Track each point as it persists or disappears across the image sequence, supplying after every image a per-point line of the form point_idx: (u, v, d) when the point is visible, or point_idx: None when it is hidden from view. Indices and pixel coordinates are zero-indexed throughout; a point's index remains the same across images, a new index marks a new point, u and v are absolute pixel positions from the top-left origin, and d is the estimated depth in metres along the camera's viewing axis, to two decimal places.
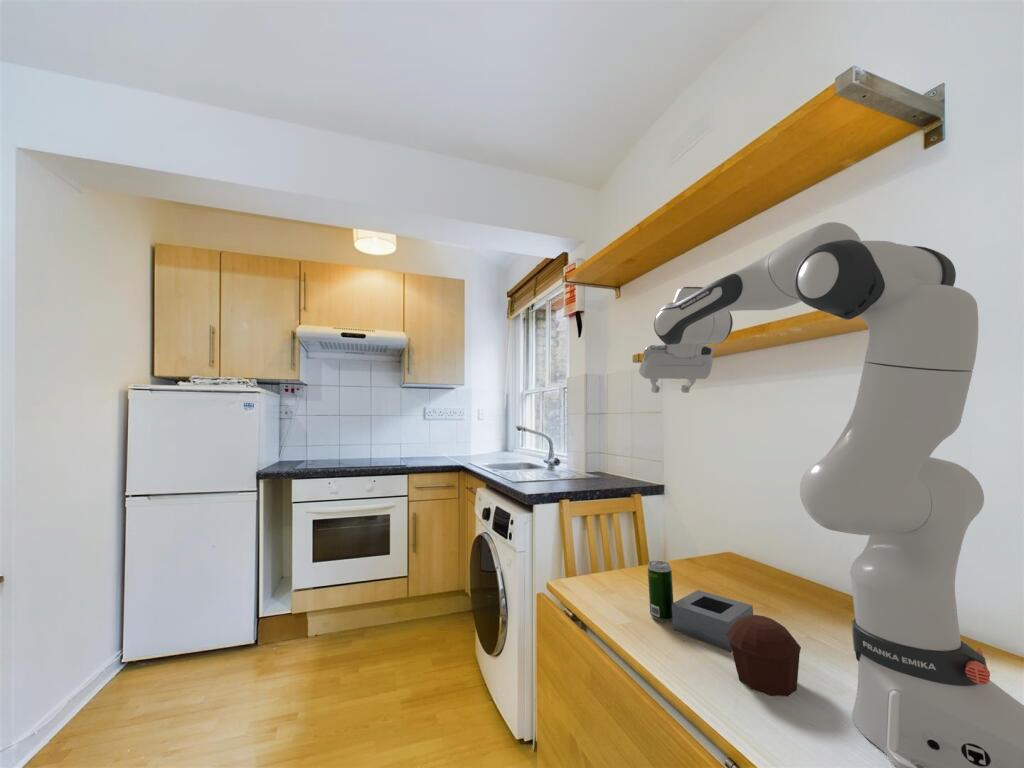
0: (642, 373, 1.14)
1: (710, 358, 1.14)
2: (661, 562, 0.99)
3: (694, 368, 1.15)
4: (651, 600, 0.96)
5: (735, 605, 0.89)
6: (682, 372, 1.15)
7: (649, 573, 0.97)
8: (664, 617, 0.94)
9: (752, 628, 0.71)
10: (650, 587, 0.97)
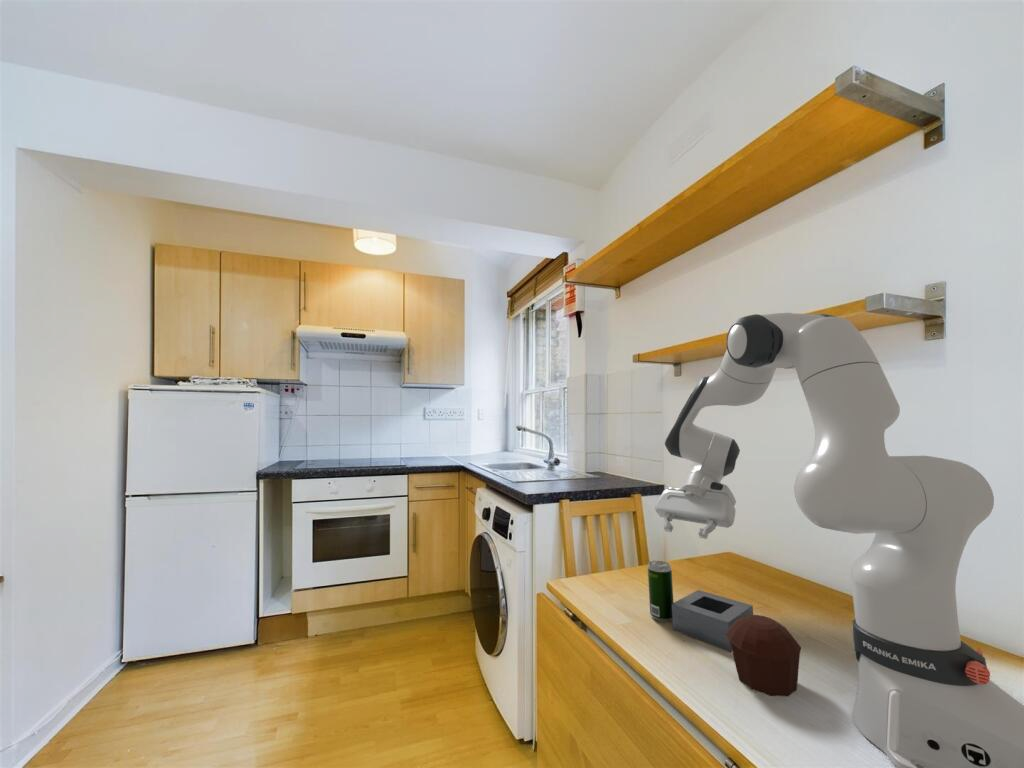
0: None
1: (724, 496, 1.05)
2: (661, 562, 0.99)
3: (708, 506, 1.06)
4: (651, 600, 0.96)
5: (735, 605, 0.89)
6: (693, 508, 1.08)
7: (649, 573, 0.97)
8: (664, 617, 0.94)
9: (753, 628, 0.71)
10: (650, 587, 0.97)
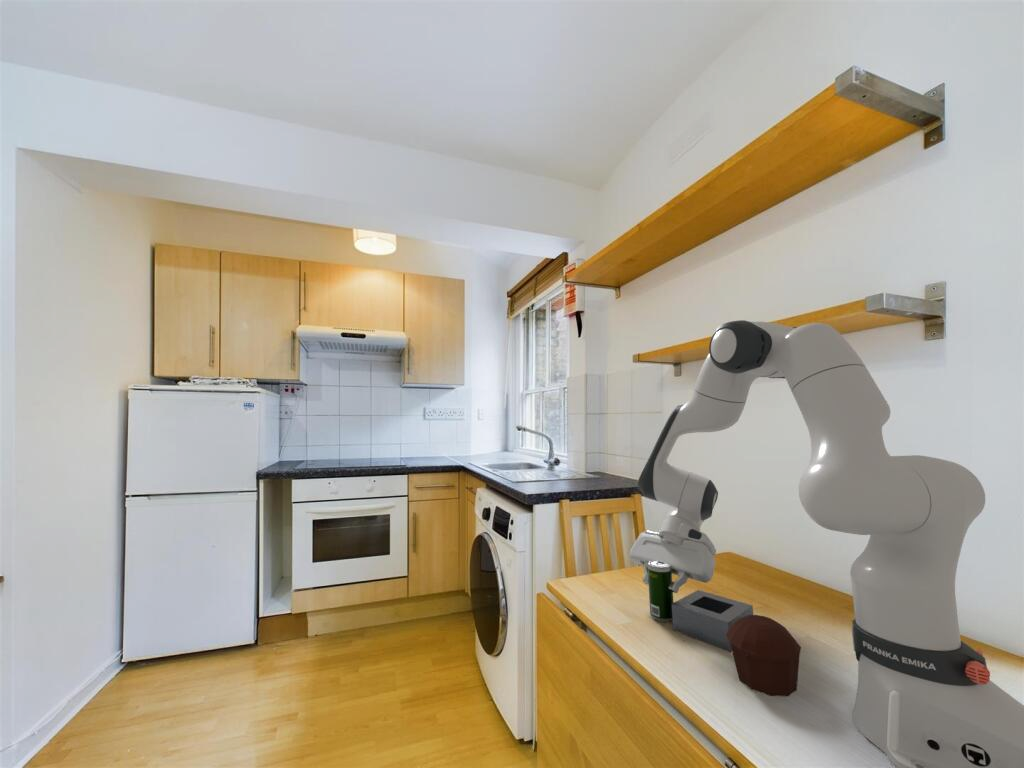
0: None
1: (703, 546, 0.95)
2: (661, 562, 0.99)
3: (685, 557, 0.97)
4: (651, 600, 0.96)
5: (735, 605, 0.89)
6: (670, 558, 0.99)
7: (649, 573, 0.97)
8: (664, 617, 0.94)
9: (752, 628, 0.71)
10: (650, 587, 0.97)
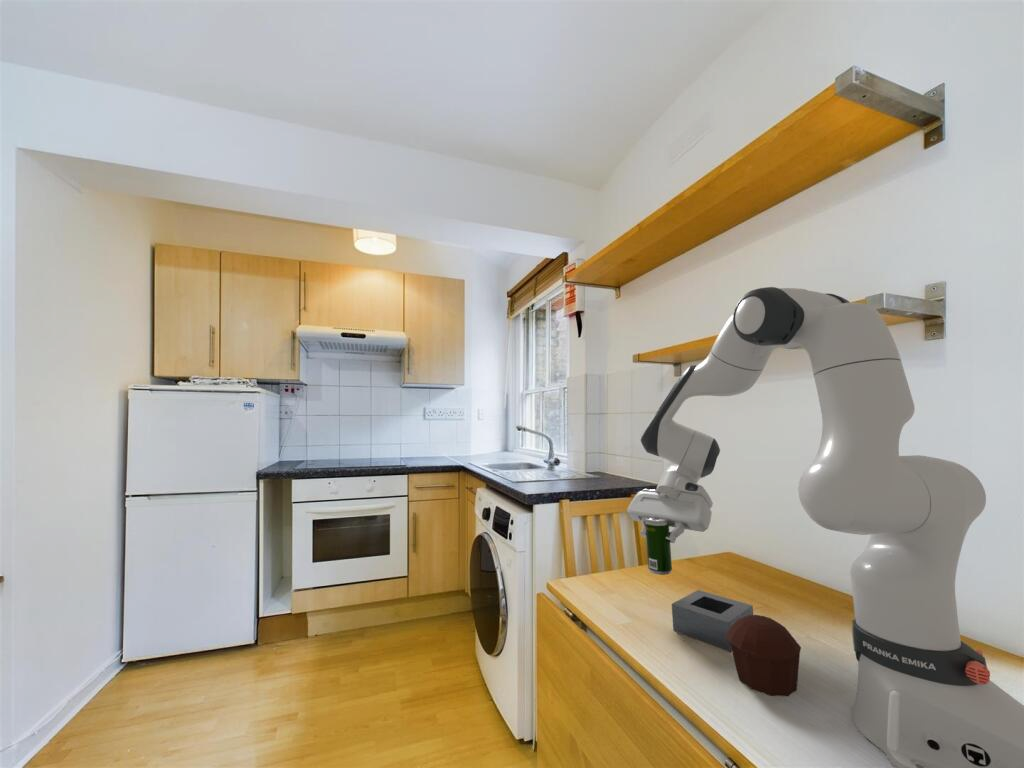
0: None
1: (699, 497, 0.97)
2: (658, 518, 1.00)
3: (682, 508, 0.98)
4: (649, 554, 0.97)
5: (735, 605, 0.89)
6: (667, 511, 1.00)
7: (647, 528, 0.98)
8: (662, 570, 0.95)
9: (752, 628, 0.71)
10: (648, 541, 0.98)
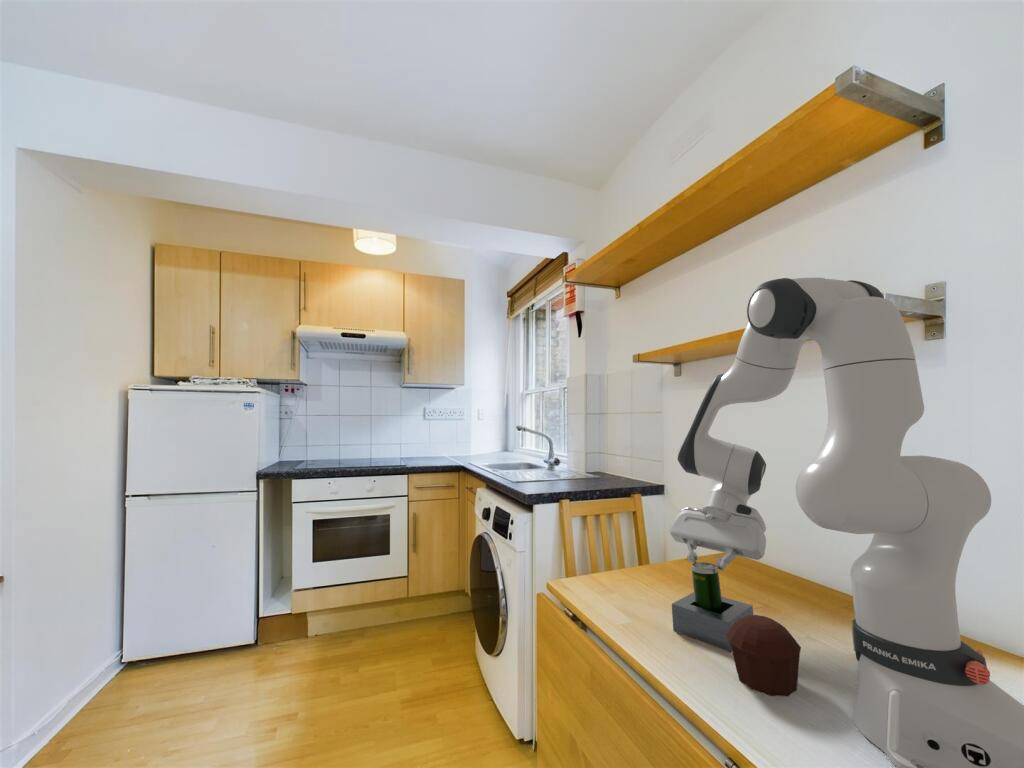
0: None
1: (754, 522, 0.89)
2: (705, 563, 0.93)
3: (734, 533, 0.91)
4: (699, 605, 0.89)
5: (735, 605, 0.89)
6: (716, 534, 0.93)
7: (695, 576, 0.90)
8: None
9: (753, 628, 0.71)
10: (697, 591, 0.90)
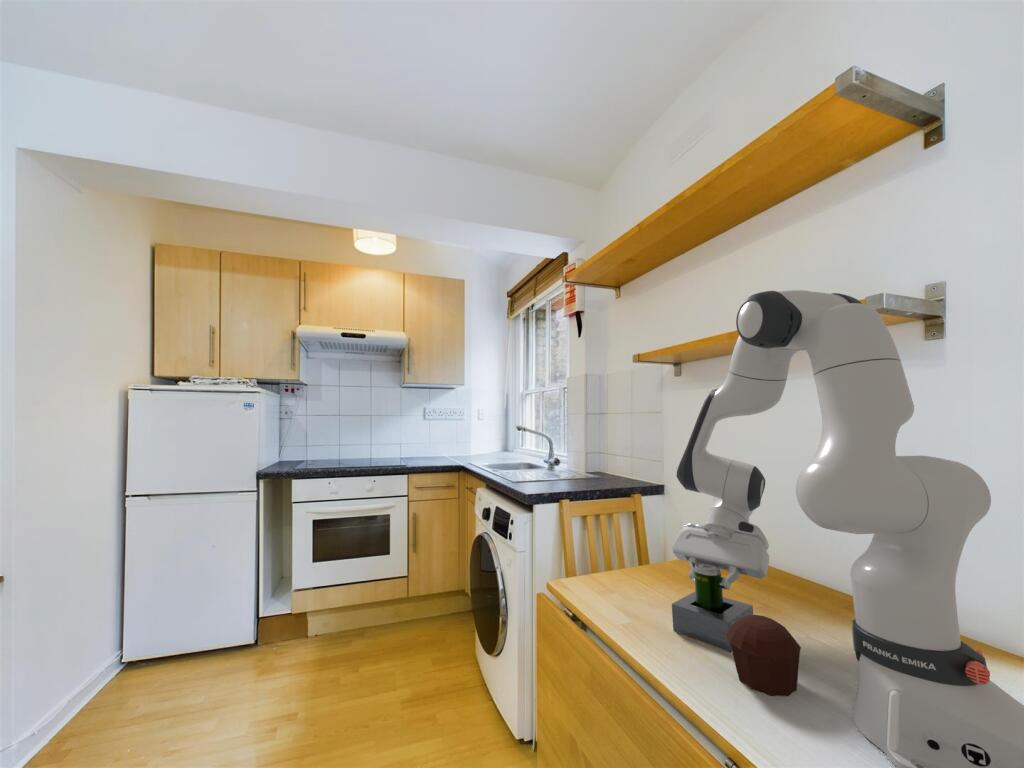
0: None
1: (756, 540, 0.89)
2: (708, 564, 0.92)
3: (737, 551, 0.90)
4: (700, 606, 0.89)
5: (735, 605, 0.89)
6: (719, 553, 0.92)
7: (697, 577, 0.90)
8: None
9: (752, 628, 0.71)
10: (698, 592, 0.89)
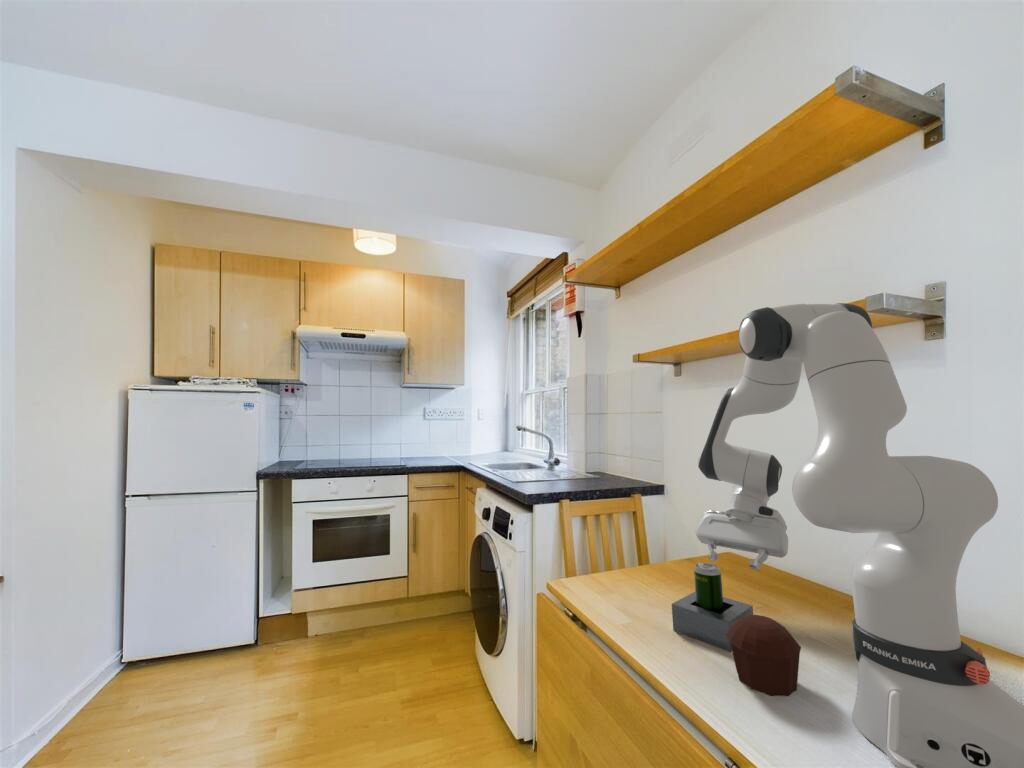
0: None
1: (776, 522, 0.96)
2: (708, 564, 0.92)
3: (758, 533, 0.98)
4: (700, 606, 0.89)
5: (735, 605, 0.89)
6: (741, 535, 1.00)
7: (697, 577, 0.90)
8: None
9: (753, 627, 0.71)
10: (698, 592, 0.89)
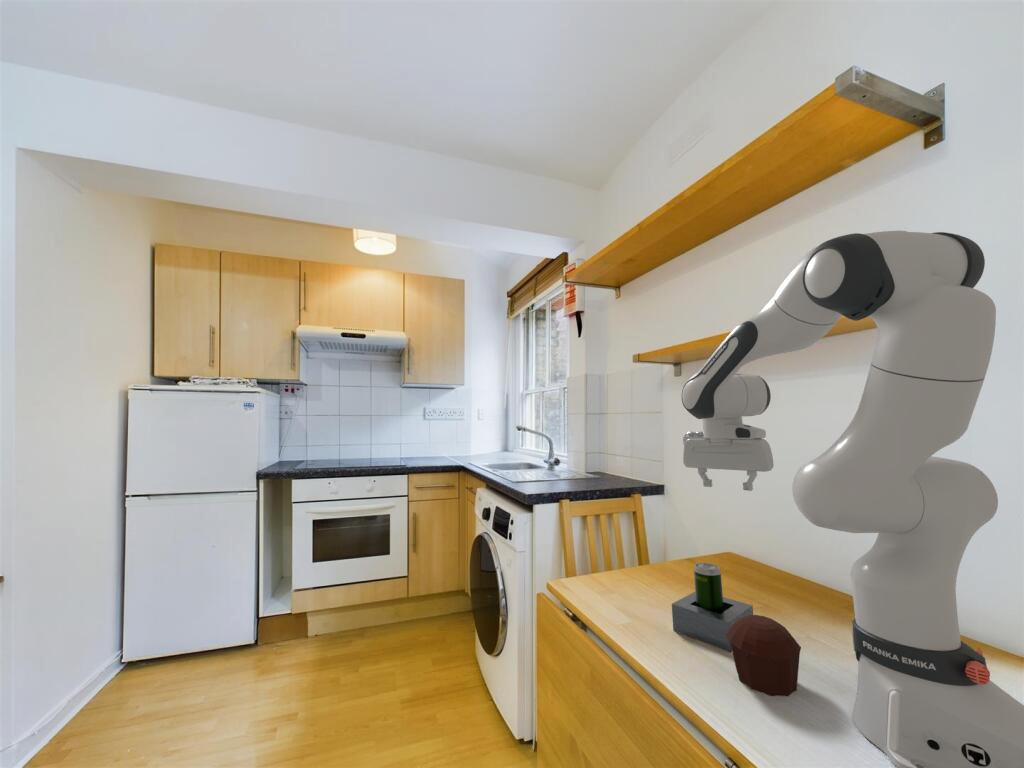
0: None
1: (756, 443, 0.94)
2: (707, 564, 0.92)
3: (742, 456, 0.96)
4: (700, 606, 0.89)
5: (735, 605, 0.89)
6: (727, 461, 0.99)
7: (697, 577, 0.90)
8: None
9: (753, 628, 0.71)
10: (698, 592, 0.89)
